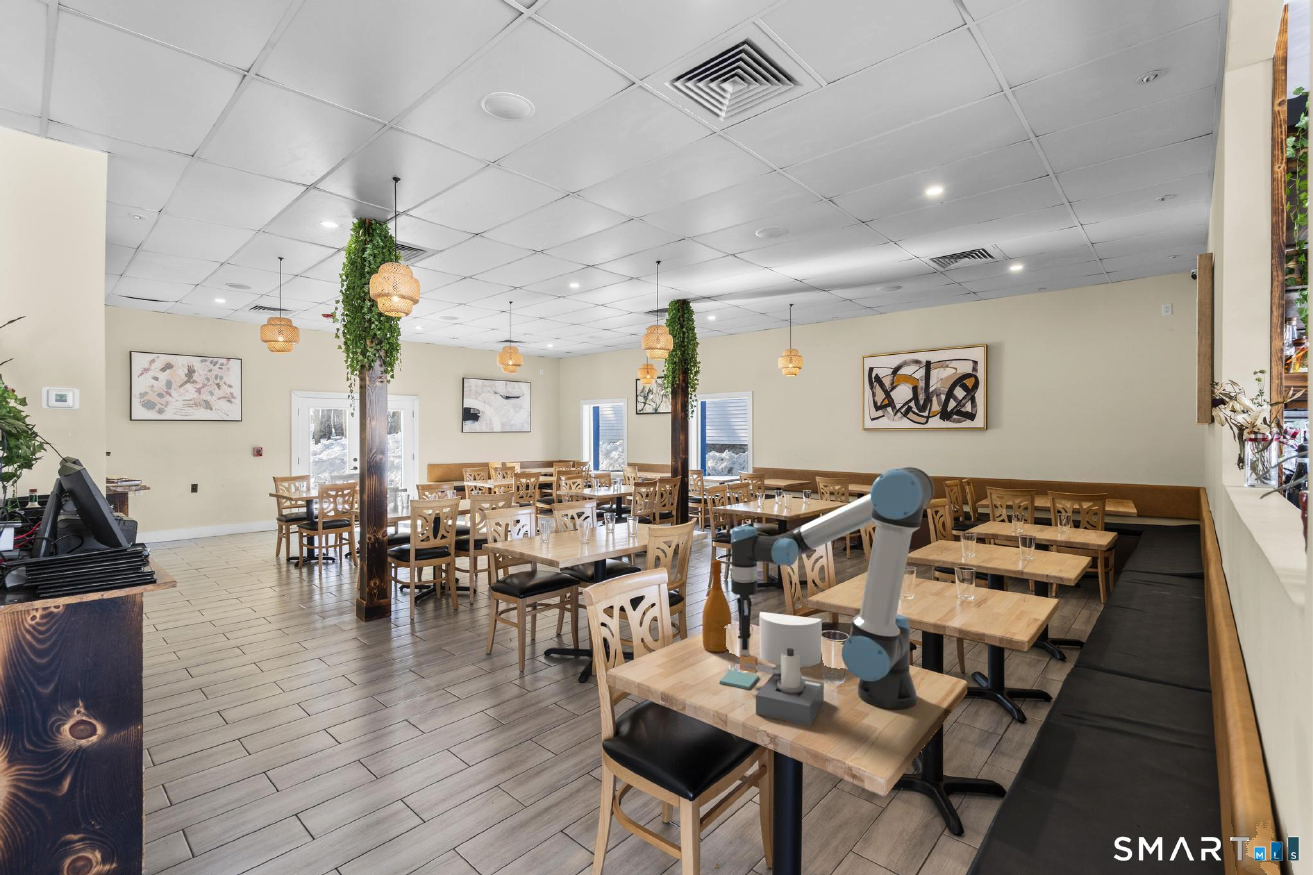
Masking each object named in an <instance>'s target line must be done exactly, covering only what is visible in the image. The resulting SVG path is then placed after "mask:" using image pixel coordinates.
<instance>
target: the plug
mask: <svg viewBox="0 0 1313 875" xmlns="http://www.w3.org/2000/svg"><path fill="white" fill-rule="evenodd" d="M780 667H781V680H779V681H778V682H777V688H778V689H779V690H780V691H781V692H783V693H788V694H793V695H798V696H800V693H801V692H803V691H804V684H803V683H802V682H801V681H800V674H801V668H800V655H799V654H798V653H795V652H794V649H792V648H788V649H787V652H783V653H781V666H780Z"/></svg>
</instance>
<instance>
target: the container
mask: <svg viewBox="0 0 1313 875" xmlns="http://www.w3.org/2000/svg"><path fill="white" fill-rule="evenodd" d="M758 618H759V620H758V621H759V625H758V626H759V628H758V629H759V636H758V637H759V657H760V658H761V659H762V660H764V661H765V662H768V664H769V663H770V664H772V665H775V666H780V667H781V653H783V652H787V649H788V648H792V649H794V652H795V653H798V654H799V655H800V669H801V668H809V667H814V666H816V665H818V664H820V663H821V662H822V661H821V635H823V632H822V630H823V629H822V626H823V624H822V618H815V617H807V616H806V617H805V616H798V615H790V614H781V613H775V612H765V611H759V617H758Z"/></svg>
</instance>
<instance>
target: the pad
mask: <svg viewBox="0 0 1313 875" xmlns="http://www.w3.org/2000/svg"><path fill="white" fill-rule="evenodd" d="M758 679H760V675H759V674H755V673H750V672H742V671H739V670H738V671H737V670H733V669H730V670H729V671H728V672H726V674H725V675H724V676H723V677H722V678H721V679H720V680H719V684H720V685H726V686H729V687H730V686H731V687H735V688H740V689H746V690H750V689H751V688H752V687H753V686H754V684H756V682H757V681H758Z"/></svg>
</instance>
